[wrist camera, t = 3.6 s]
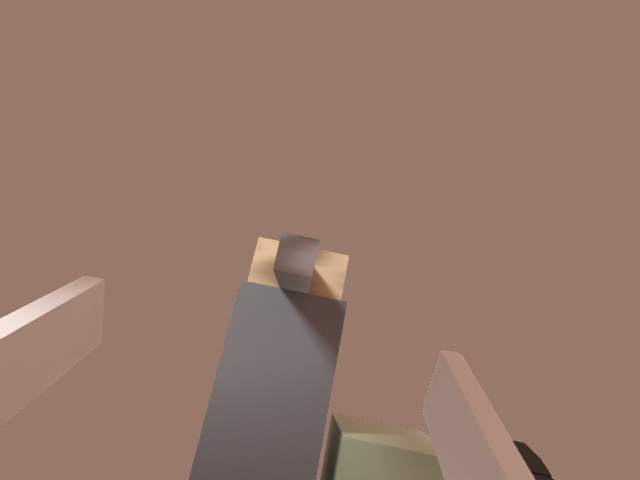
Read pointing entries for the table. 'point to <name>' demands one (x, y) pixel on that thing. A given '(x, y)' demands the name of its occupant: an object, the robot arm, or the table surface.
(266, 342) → the tall stand
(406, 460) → the low stand
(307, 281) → the handle block
